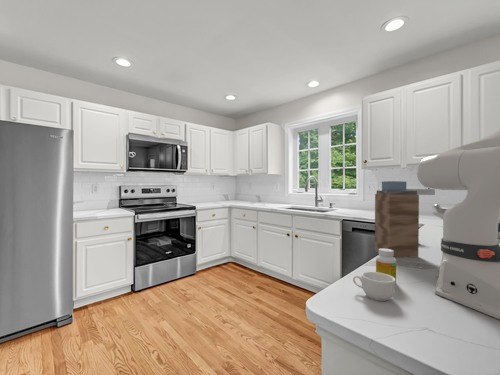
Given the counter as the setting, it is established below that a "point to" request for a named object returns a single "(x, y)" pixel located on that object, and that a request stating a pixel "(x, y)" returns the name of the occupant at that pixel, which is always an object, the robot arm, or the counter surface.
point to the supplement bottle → (386, 262)
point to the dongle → (404, 188)
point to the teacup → (377, 285)
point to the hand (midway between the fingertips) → (443, 206)
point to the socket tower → (397, 222)
